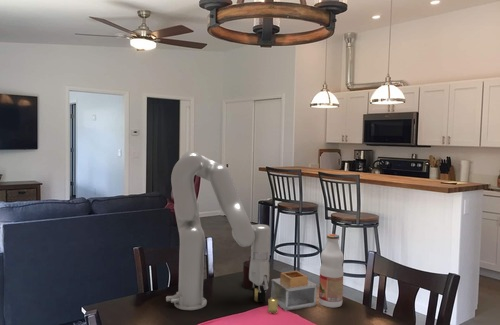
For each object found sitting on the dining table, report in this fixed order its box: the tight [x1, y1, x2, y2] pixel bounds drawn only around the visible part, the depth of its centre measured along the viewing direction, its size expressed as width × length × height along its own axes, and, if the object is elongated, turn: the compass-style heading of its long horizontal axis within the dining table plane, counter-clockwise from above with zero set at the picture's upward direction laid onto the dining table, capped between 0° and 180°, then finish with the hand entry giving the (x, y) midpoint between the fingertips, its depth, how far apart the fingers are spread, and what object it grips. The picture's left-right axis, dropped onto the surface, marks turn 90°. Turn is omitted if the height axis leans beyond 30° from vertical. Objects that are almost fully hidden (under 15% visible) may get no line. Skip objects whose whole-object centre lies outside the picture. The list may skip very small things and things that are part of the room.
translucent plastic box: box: [270, 270, 318, 312], centre depth 161 cm, size 14×12×12 cm
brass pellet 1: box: [253, 287, 262, 303], centre depth 163 cm, size 4×4×5 cm
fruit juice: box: [318, 233, 345, 309], centre depth 162 cm, size 9×9×28 cm
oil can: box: [242, 255, 263, 290], centre depth 184 cm, size 28×11×25 cm, turn 11°
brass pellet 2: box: [267, 296, 279, 314], centre depth 152 cm, size 4×4×5 cm
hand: (258, 299), depth 163 cm, fingers closed on brass pellet 1, 3 cm apart
